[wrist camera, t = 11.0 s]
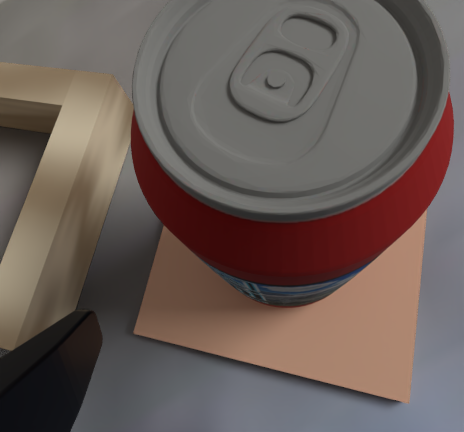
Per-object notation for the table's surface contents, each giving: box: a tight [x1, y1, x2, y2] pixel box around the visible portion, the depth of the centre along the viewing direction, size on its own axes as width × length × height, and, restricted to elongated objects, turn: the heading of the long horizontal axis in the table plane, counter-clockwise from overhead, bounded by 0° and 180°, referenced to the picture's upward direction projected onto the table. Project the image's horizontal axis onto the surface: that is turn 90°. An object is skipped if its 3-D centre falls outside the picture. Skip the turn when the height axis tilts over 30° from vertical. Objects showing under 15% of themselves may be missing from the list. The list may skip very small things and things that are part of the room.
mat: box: [133, 209, 427, 404], centre depth 18 cm, size 12×12×1 cm
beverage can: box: [131, 0, 454, 308], centre depth 12 cm, size 7×7×12 cm
